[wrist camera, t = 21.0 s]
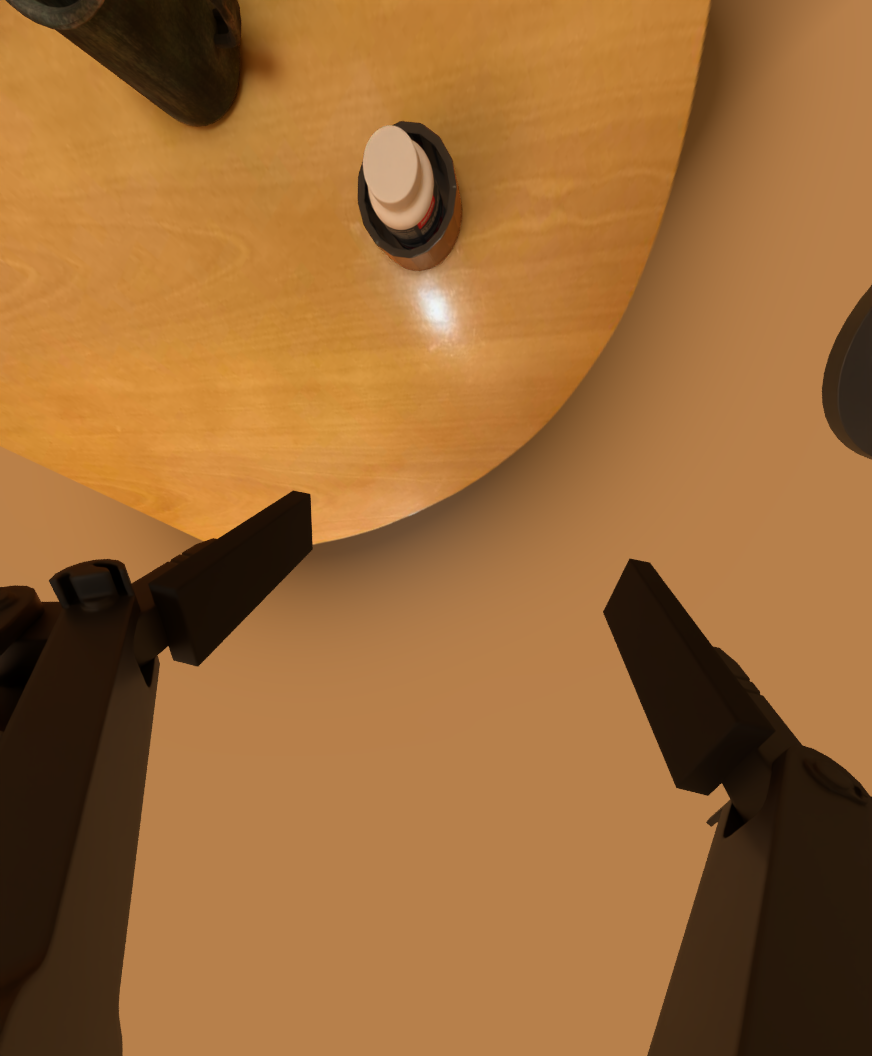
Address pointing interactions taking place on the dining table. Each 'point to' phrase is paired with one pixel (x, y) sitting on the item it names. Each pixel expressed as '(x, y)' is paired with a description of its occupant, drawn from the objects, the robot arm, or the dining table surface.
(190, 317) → the dining table surface
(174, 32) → the mug
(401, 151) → the pill bottle
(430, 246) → the dark grey round container
